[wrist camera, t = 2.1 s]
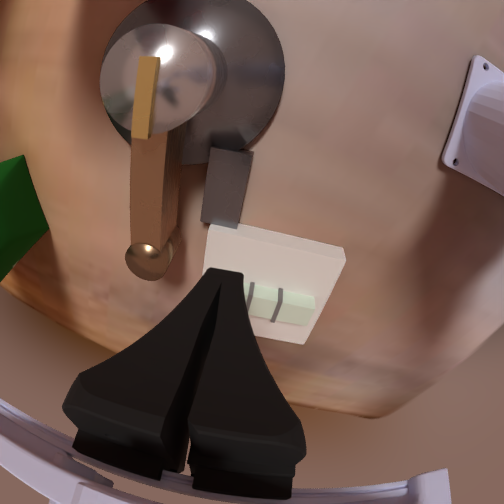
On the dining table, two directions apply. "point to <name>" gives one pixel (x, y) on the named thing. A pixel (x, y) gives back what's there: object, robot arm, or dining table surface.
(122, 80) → the round-headed metal tool
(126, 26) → the dial base
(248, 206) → the dining table surface
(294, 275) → the stand board
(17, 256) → the milk carton
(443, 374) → the dining table surface
